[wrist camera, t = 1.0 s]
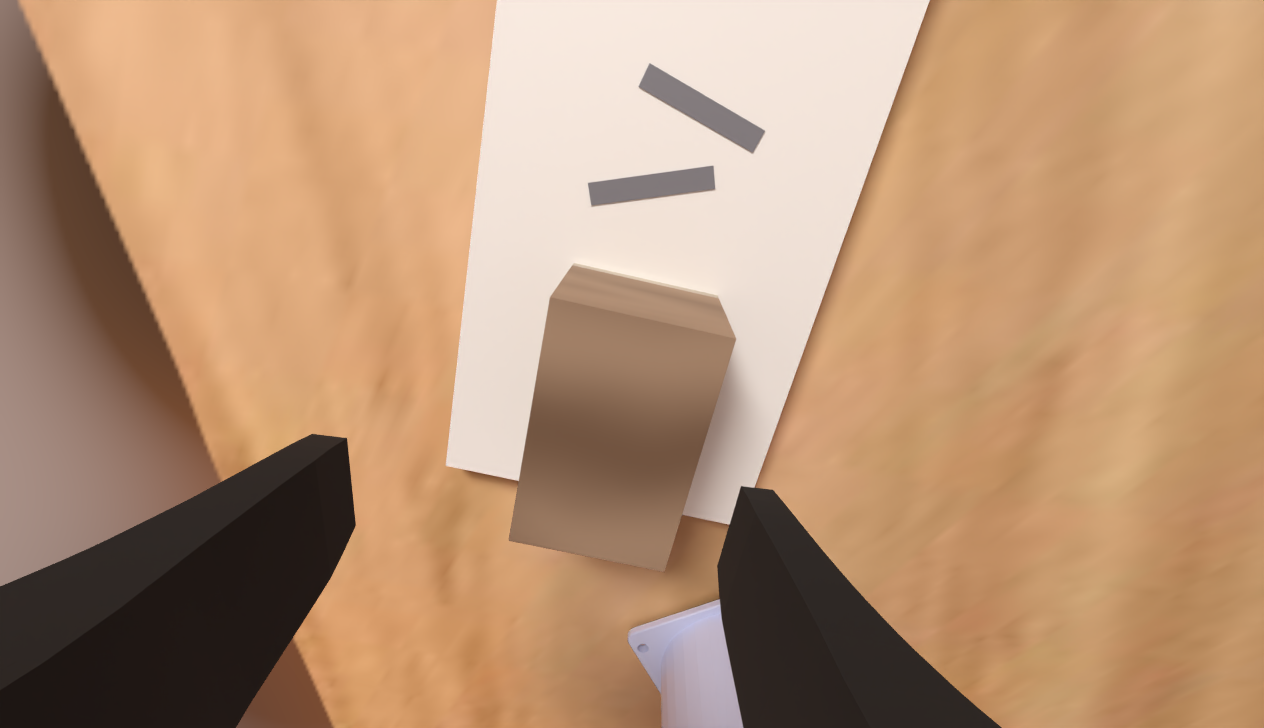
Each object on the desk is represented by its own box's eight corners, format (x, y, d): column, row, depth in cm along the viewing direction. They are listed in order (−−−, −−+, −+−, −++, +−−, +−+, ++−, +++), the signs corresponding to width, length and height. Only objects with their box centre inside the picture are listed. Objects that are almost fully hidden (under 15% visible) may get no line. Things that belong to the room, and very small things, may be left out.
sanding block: (662, 488, 22) (664, 571, 17) (537, 462, 21) (508, 540, 17) (717, 295, 19) (736, 338, 14) (573, 262, 19) (549, 297, 14)
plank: (736, 508, 23) (740, 527, 22) (456, 450, 23) (445, 466, 22) (1029, -328, 14) (1064, -371, 13) (562, -462, 13) (553, -520, 12)
